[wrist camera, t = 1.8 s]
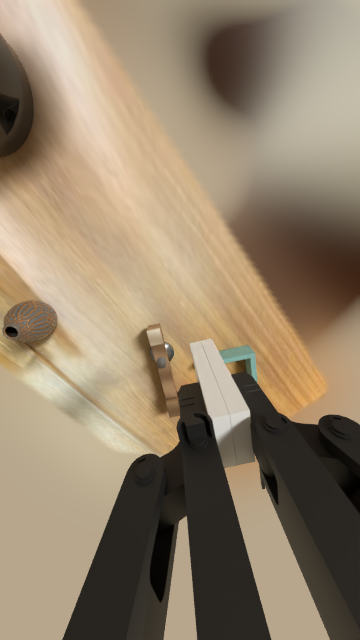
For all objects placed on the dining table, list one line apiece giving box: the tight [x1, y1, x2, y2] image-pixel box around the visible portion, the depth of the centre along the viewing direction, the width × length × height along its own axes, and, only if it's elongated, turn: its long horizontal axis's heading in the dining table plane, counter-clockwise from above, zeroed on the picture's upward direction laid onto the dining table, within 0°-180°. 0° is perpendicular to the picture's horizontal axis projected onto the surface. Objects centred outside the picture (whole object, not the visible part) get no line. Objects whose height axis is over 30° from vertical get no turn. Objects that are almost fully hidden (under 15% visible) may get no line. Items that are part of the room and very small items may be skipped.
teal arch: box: [218, 345, 257, 382], centre depth 44 cm, size 13×10×4 cm
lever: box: [147, 324, 180, 418], centre depth 41 cm, size 20×2×4 cm, turn 11°
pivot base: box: [150, 342, 174, 362], centre depth 42 cm, size 5×5×1 cm
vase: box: [3, 301, 57, 342], centre depth 34 cm, size 7×7×9 cm
